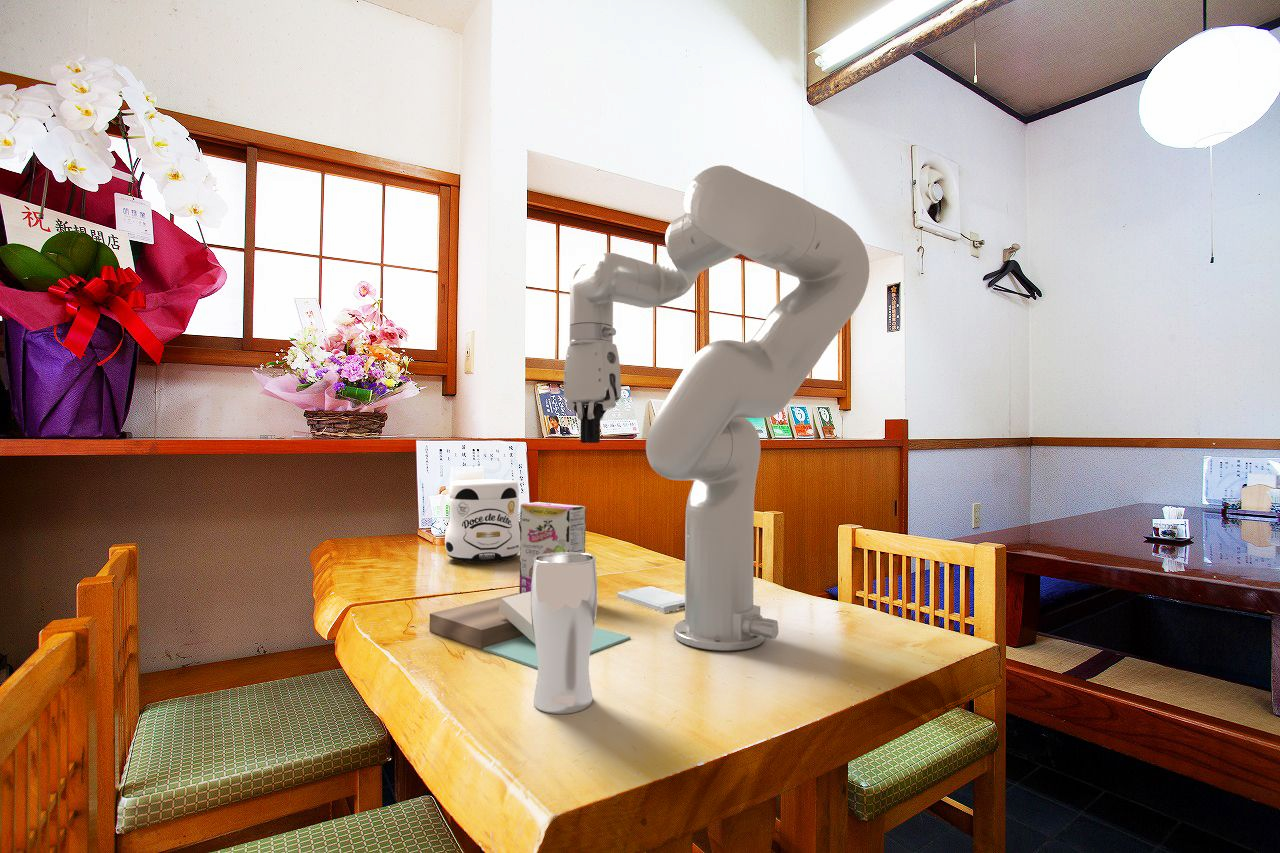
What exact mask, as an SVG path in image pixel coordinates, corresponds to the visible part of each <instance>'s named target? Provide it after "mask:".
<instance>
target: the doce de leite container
mask: <svg viewBox="0 0 1280 853" xmlns="http://www.w3.org/2000/svg"><path fill="white" fill-rule="evenodd" d="M518 483H519V482H518V481H517V480H510V479H509V480H508V479H463V480H455V481H451V482H450V487H449V520H448V525H447V527H446V530H445V534H444V535H445V536H444V548H445V551H446V555H447V556H448V557H449V558H450V559H452V560H455V561H460V562H466V563H493V562H501V561H505V560H509V559H512V558H514V557H516V556H517V555H519V554H520V518H519V509H520V508H519V504H520V503H519V502H520V500H519V494H520V490H519V484H518Z"/></svg>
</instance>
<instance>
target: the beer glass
mask: <svg viewBox="0 0 1280 853" xmlns="http://www.w3.org/2000/svg"><path fill="white" fill-rule="evenodd" d="M596 561H597V556H595V555H594V554H590V553H588V552H585V553H580V552H554V553H545V554H540V555H537V556H535V557H534V558H533V571H532V582H531V617H532V626H533V632H534V639H535V645H536V651H537V659H538V669H537V678H536V685H535V689H534V694H533V705H534V707H535V708H536V709H537V710H539V711H540V712H544V713H547V714H553V715H568V714H574V713H578V712H582V711H583V710H585V709H587V708H589V707H590V706H591V705H592V703H593V692H592V687H591V681H590V680H591V679H590V657H591V656H590V655H591V654H590V651H591V645H592V639H593V634H594V628H595V627H596V621H597V614H598V599H599V598H598V573H597V562H596Z"/></svg>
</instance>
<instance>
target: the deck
mask: <svg viewBox="0 0 1280 853" xmlns="http://www.w3.org/2000/svg"><path fill="white" fill-rule="evenodd" d="M518 594H520V593H519V592H516V593H511V594H506V595H503V596H500V597H496V598H491V599H490V598H489V599H486V600H482V601H478V602H474V603H469V604H464V605H460V606H457V607H452V608H448V609H444V610H443V609H442V610H438V611H434V612H431V613H429V632H431V633H434V634H437V635H440V636H442V637H444V638H448V639H451V640H454V641H457V642H459V643H462V644H464V645H468V646H471V647H474V648H476V649H479V650H483V649H484V648H485V647H488V646H491V645H495V644H498V643H501V642H504V641H508V640H511V639H514V638H517V637H521V636H524V634H523V633H522V632H521V631H520V630H519V629H518V628H517V627H515V626H514V625H513V624H512V623H511V622H510V621H509V620H508V619H507V618H505V617H504V616H503V615H502V614H501V613H500V612H499V611H498V610H499V606H500V602H501V599H502V598H505V597H509V596H513V595H518Z"/></svg>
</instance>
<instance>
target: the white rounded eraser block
mask: <svg viewBox="0 0 1280 853" xmlns="http://www.w3.org/2000/svg"><path fill="white" fill-rule="evenodd" d="M498 611H499V612H500V613H501V614H502V615H503V616H504V617H505V618H507V619H508V620H509V621H510V622H511V623H512V624H513V625H514V626H515V627H517V628H518V629H519V630H520V631H521V632H522V633H523V634H524V635H525V636H527V637H528V638H529V639H530V640H531V641H532V642H533V643H534V644H535V639H534V632H533V626H532V617H531V591H530V592H526V593H522V594H518V595H513V596H509V597H505V598H502V599H501V602H500V606H499V610H498Z"/></svg>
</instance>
